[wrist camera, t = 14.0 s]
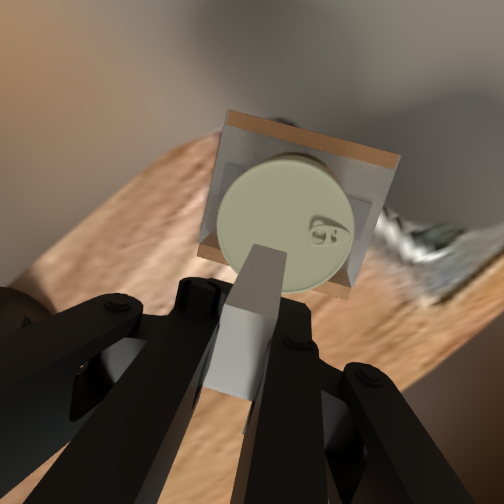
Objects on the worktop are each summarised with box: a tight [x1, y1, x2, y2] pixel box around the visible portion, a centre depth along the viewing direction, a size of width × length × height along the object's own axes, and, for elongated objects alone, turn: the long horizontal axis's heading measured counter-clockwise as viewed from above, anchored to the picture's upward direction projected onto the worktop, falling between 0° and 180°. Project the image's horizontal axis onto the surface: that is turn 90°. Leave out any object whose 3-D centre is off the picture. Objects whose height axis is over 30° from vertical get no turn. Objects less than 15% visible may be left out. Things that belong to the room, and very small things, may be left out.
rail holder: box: [197, 109, 401, 300], centre depth 36 cm, size 16×13×5 cm
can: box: [217, 152, 355, 294], centre depth 31 cm, size 9×9×12 cm
